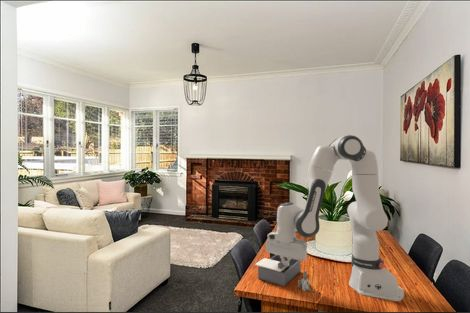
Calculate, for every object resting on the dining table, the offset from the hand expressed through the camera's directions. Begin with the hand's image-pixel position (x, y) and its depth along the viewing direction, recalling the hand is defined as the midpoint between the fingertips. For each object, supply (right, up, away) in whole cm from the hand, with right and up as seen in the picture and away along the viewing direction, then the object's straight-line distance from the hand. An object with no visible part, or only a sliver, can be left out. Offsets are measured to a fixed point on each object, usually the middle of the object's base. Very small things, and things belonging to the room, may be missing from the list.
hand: (285, 265), depth 133 cm
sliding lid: (-6, -2, +4) cm, 8 cm away
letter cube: (-2, -8, +1) cm, 8 cm away
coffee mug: (+1, -8, +26) cm, 28 cm away
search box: (-2, -8, +7) cm, 11 cm away
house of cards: (+6, -9, -4) cm, 11 cm away
